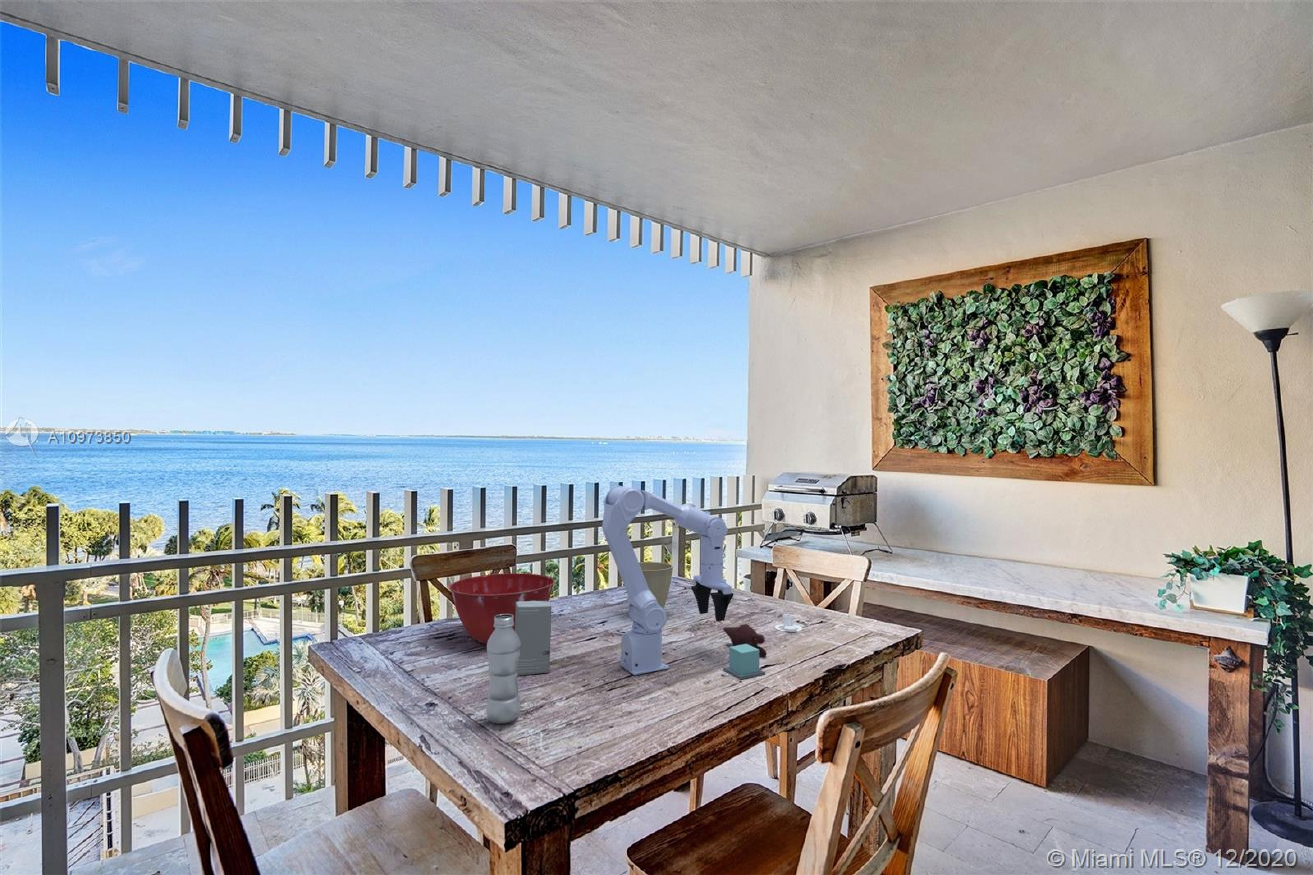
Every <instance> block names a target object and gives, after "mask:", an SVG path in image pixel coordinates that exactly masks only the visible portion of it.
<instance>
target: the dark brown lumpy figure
mask: <svg viewBox="0 0 1313 875" xmlns="http://www.w3.org/2000/svg"><path fill="white" fill-rule="evenodd" d="M722 630H723V632H725V634H726V635H727V636H728V637H729V639H730V642H731V643H732V646H737V645H743V644H748V645H750V646H752V647H754V648H757V649H759V657H762V658H764V657H766V656H767V651H766V650H765V649H764V647H762V646H760V645H762V644H764V643H765V641H766V638H765V636H764V635H762V634H758V633H757V632H756V630H755V629H754V628H753V627H750V625H749V624H748V623H746V624H740V625H739V626H733V627H731V626H730V627H729V626H727V627H726V626H725V627H723V628H722Z"/></svg>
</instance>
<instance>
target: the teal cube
mask: <svg viewBox="0 0 1313 875" xmlns="http://www.w3.org/2000/svg"><path fill="white" fill-rule="evenodd" d="M728 650H729V651H728V652H729V654H728V656H729V658H728V659H729V661H728V662H729V666H728V667H729V668H730V669H732V670H734V671H736V672H737V673H739V674H741V675H744V674H749V673H754V672H759V669H760V656H759V649H757V648H754V647H752V646H750V645H748V644H743V645H737V646H733V645H731V646H729V649H728Z"/></svg>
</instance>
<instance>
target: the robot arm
mask: <svg viewBox="0 0 1313 875" xmlns="http://www.w3.org/2000/svg"><path fill="white" fill-rule="evenodd" d="M602 502H603V507H604V508H603V515H602V516H603V517H602V524H601V529H602V533H603V535H604V538H605V539H606V540H605V541H606V542H607V544H608V548H609V549H610V553H611V555H612V557H613V560H614V563H615V565H616V568H617V571H618V572H619V576H620V579H621V580H622V582H623V586H624V588H625V591H626V592H627V598H626V602H627V604H628V610H627V612H628V613H627V614H628V617H629V619H630V621H631V622H632V627H631V630H630V631H627V632H625V633H623V634H622V636H621V641H620V642H621V643H620V644H621V645H620V646H621V647H620V648H621V652H620V654H621V656H620V660H621V662H620V663H619V665H620V666H621V667H622V668H624V669H625V670H626V671H627V672H629V673H630V674H631V675H633V676H637V675H641V674H646V673H652V672H658V671H662V670H669V669H670V668H669V667H670V666H669V665H668V664H666V663H664V662H663V650H662V649H663V628H664V627H665V625H666V624H667V620H668V619H667V618H668V616H667V612H666V610H665V608H664V609H663V608H662V607H661V606H660V605H659V604H658V602H657V600H656V598H655V597H654V595H653V594H652V593H651V591H650V590H649V588H648V585H647V583H646V580H645V578H644V575H643V572H642V570H641V567H640V565H639V562H640V561H639V559H638V557H637V555H636V552H635V549H634V547H633V545H632V542H631V539H630V537H629V535H628V532H627V530H628V528H629V526H630V524H631V522H632V521H633V520H634V518H635V517H637V516H638V514H639V513H640V512H641V511H647V510H652V511H656V512H657V513H660V514H663V515H666V516H668V517H671V518H673V519H674V521H675V524H676V525H677V526H678V527H681V528H683V529H685V530H689V531H690V532H692V533H696V535H697V534H698V536H699V537H700V574H697V575H693V583H694V584H695V585H692V586H691V587H690V588H691V591H692V594H694V597H695V600H696V605H697V608H698V612H699V614H700V615H703V614H708V613H709V606H710V605H709V603H710V597H711V600H712V603H713V607H714V617H715V618H714V619H715V620H716V622H722V621H725V618H726V614H727V611H728V607H729V605H730V603H731V601H732V599H733V597H734V592H732V585H730V584H728V583H727V579H726V578H724V544H725V542H724V541H725V537H726V536H727V534H728V531H729V529H728V527H727V524H726V521H724V519H723V518H721V517H719V516H714V515H711V512H710V511H707V510H705V511H703V510H701V509H699V508H697V507H696V505H695V504H694V503H683V504H682V505H680V506H679V505H677V504H675V503H673V502H671V501H669V500H667V499H665V498H664V497H661V496H659V495H657V494H655V493H652V492H650V491H646V490H643V489H642V490H641V489H639V488H637V487H626V486H623V485H615V486H613V487H611V488H610V489H609V491H608V492H607V494H606V495H605V497H604V499H603V501H602ZM712 590H715V592H712Z"/></svg>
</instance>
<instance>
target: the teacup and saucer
mask: <svg viewBox="0 0 1313 875" xmlns="http://www.w3.org/2000/svg"><path fill="white" fill-rule="evenodd" d="M780 627H783V629H781V628H780ZM774 628H775V629H776V630H777V631H780V632H787V633H795V632H801V631H802V630H803V627H802V626H800V625H797V624H794V615H793V614H790V613H785V614H782V623H781V624H776V625H775V626H774Z"/></svg>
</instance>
